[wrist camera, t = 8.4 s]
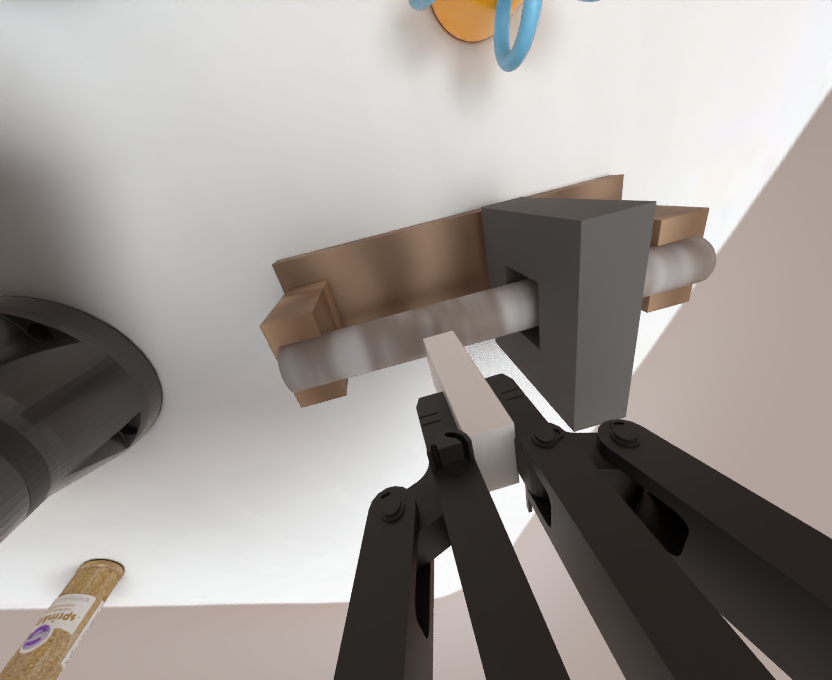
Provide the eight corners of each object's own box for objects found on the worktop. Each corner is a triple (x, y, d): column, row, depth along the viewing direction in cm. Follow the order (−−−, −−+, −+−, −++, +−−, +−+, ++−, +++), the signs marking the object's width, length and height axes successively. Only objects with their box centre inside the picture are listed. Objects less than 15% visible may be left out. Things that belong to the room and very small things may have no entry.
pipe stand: (322, 364, 28) (301, 450, 19) (277, 260, 24) (219, 305, 14) (601, 289, 29) (713, 335, 20) (609, 175, 25) (760, 165, 15)
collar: (495, 342, 26) (573, 431, 16) (481, 207, 21) (581, 220, 11) (528, 333, 26) (625, 417, 16) (521, 196, 21) (656, 201, 11)
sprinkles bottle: (105, 553, 35) (-31, 741, 23) (134, 571, 37) (25, 752, 25) (69, 567, 35) (-84, 760, 23) (101, 584, 37) (-24, 770, 25)
